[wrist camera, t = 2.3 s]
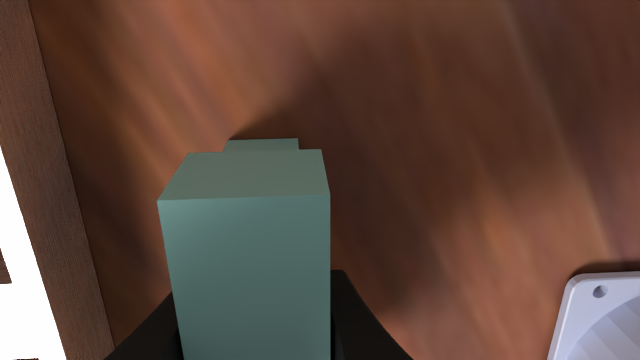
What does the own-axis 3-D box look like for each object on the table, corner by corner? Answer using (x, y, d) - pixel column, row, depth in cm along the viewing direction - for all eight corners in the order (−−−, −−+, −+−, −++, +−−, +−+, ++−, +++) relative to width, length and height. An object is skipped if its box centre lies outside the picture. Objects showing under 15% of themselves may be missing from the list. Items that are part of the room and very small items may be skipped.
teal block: (315, 120, 12) (330, 194, 8) (318, 362, 16) (330, 513, 11) (207, 123, 12) (156, 200, 7) (235, 367, 16) (212, 522, 11)
